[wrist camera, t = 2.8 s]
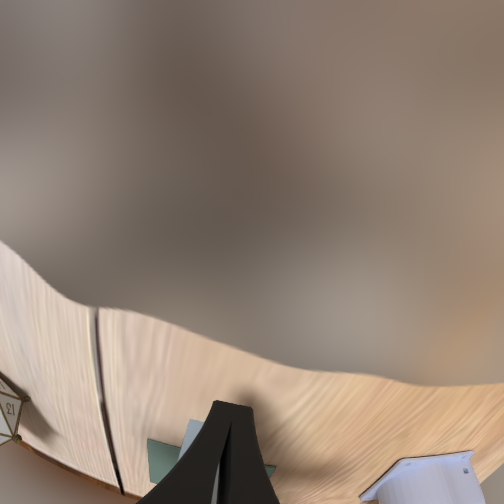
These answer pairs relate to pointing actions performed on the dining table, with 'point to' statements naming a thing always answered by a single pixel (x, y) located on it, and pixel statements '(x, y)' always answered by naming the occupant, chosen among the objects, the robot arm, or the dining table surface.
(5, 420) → the game die
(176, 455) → the felt mat
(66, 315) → the dining table surface
